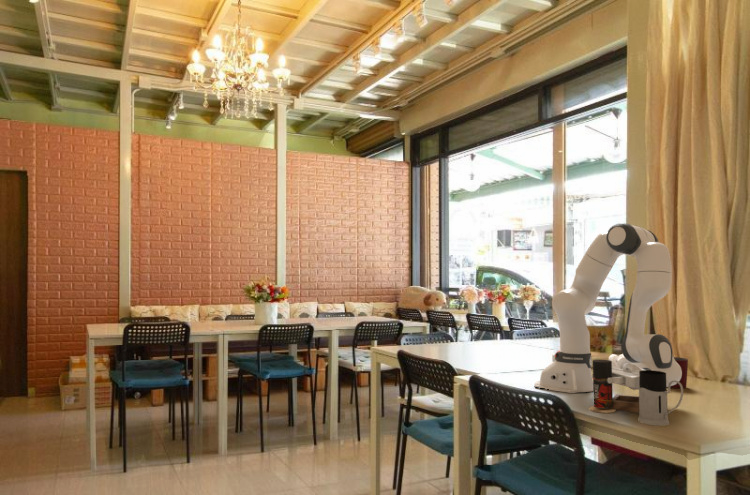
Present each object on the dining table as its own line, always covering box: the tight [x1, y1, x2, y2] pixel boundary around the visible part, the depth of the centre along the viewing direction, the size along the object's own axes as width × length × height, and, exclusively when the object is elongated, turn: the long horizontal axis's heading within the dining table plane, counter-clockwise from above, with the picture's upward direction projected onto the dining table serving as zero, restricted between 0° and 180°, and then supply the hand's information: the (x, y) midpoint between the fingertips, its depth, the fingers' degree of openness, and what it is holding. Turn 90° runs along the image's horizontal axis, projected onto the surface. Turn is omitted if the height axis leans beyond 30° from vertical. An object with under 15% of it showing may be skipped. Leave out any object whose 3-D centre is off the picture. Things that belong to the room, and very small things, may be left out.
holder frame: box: [613, 393, 639, 414], centre depth 199 cm, size 11×11×3 cm
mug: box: [670, 356, 689, 390], centre depth 234 cm, size 12×9×11 cm
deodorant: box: [592, 359, 614, 409], centre depth 196 cm, size 6×6×15 cm
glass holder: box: [637, 370, 684, 426], centre depth 180 cm, size 9×14×15 cm, turn 28°
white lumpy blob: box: [608, 353, 632, 369], centre depth 260 cm, size 11×12×9 cm
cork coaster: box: [589, 405, 616, 414], centre depth 196 cm, size 8×8×1 cm
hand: (600, 378), depth 196 cm, fingers closed on deodorant, 6 cm apart
